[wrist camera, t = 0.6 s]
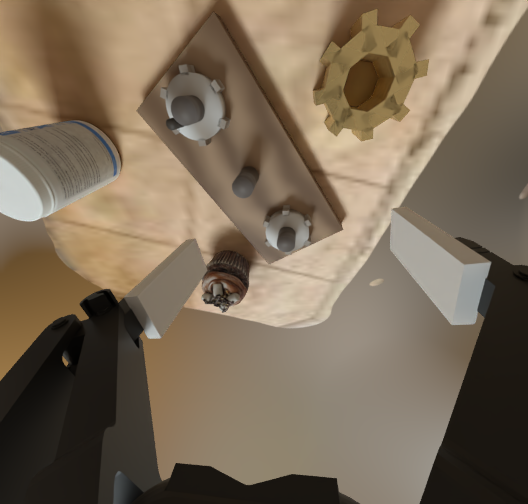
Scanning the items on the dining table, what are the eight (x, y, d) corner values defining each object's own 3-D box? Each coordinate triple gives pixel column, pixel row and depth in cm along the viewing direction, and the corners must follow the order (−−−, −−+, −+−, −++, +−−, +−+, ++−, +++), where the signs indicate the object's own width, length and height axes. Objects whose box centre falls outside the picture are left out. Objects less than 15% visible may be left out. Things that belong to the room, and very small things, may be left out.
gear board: (219, 16, 25) (195, -4, 19) (341, 223, 38) (347, 247, 32) (144, 109, 31) (110, 114, 26) (270, 258, 44) (265, 282, 39)
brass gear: (384, -3, 22) (407, -26, 17) (414, 95, 26) (438, 97, 22) (299, 73, 27) (298, 70, 22) (336, 146, 31) (342, 157, 26)
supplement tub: (73, 103, 32) (-56, 114, 21) (132, 153, 35) (49, 186, 24) (59, 153, 37) (-52, 184, 26) (112, 192, 40) (35, 236, 29)
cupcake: (260, 259, 45) (251, 296, 37) (243, 287, 51) (232, 324, 43) (216, 239, 44) (197, 274, 36) (204, 271, 49) (185, 306, 41)
